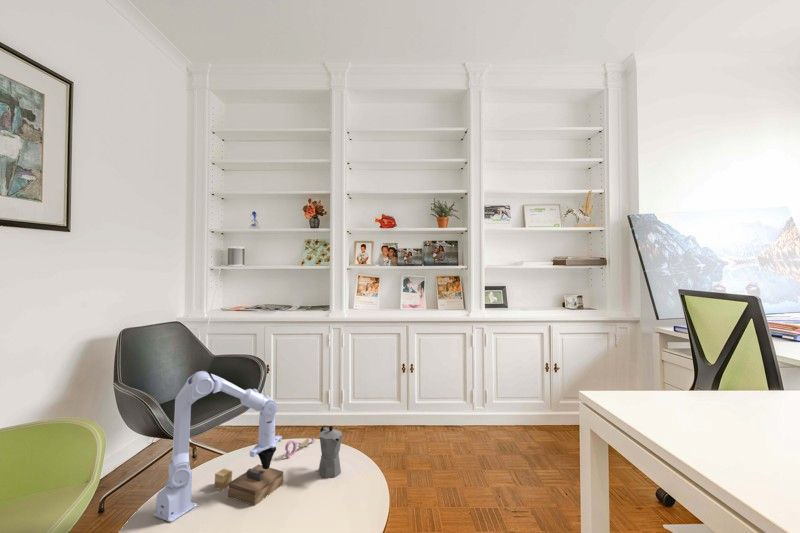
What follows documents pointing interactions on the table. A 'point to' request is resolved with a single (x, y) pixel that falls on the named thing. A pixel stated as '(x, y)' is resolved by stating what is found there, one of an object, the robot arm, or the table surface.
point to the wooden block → (223, 479)
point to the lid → (255, 479)
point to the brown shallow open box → (258, 496)
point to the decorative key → (297, 446)
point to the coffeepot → (330, 452)
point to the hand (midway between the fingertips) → (265, 468)
